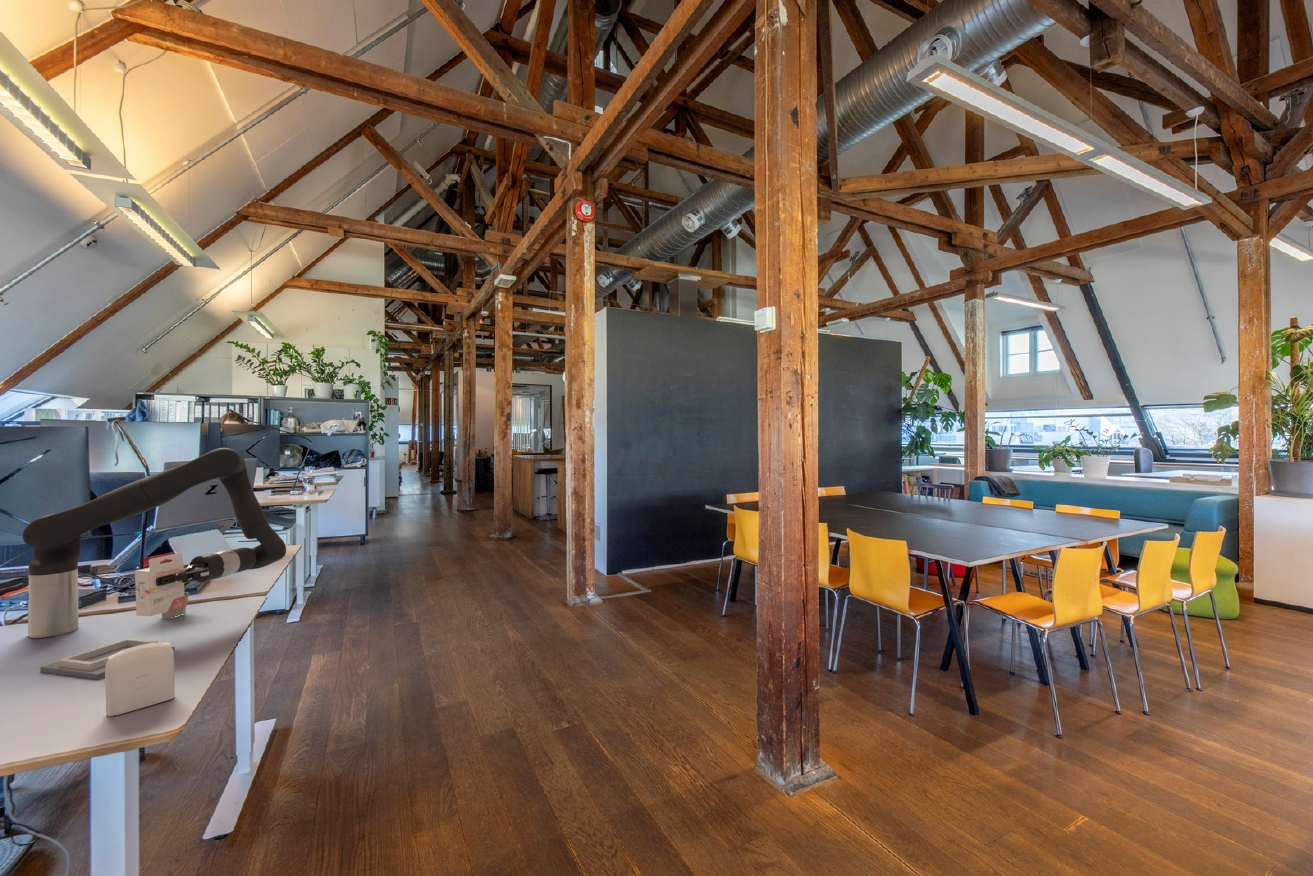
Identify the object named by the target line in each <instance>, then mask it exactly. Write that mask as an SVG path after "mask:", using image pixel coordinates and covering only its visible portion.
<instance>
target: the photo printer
mask: <svg viewBox="0 0 1313 876" xmlns="http://www.w3.org/2000/svg"><path fill="white" fill-rule="evenodd" d="M172 647H173V646H172V644H171V642H158V643H150V644H144V645H139V646H135V647H132V648H128V649H125V650H123V651H120V652H118V653H116V654H113V655H111V656H109V657H108V662H107V663H106V667H105V677H104V680H105V681H104V683H105V684H104V687H105V715H106V716H107V715H108V716H107V717H109V716H112V717H115V716H118V715H122V714H126V713H129V712H132V711H135V710H136V711H137V710H140V709H142V708H148V707H150V706H153V705H156V704H160V703H163V702H166V701H170V700H173V699H174V698H175V695H176V694H175V690H176V687H175V685H176V684H175V655H174V654H175V652H174V651H173V649H172ZM114 715H115V716H114Z"/></svg>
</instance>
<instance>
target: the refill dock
mask: <svg viewBox="0 0 1313 876" xmlns="http://www.w3.org/2000/svg"><path fill="white" fill-rule="evenodd" d="M150 643H159V641H157V640H148V639H141V638H140V639H139V638H131V637H130V638H129V637H128V638H125V639H122V640H119V641H115V642H112V643H110V644H106V645H103V646H99V647H96V648H94V649H90V650H89V649H88V650H86V651H84V652H79V653H77V654H74V655H73V654H72V655H71V656H67V657H64V658H61V659H58V661H54V662H52V663H49V664H45V665H42V666H40V673H47V674H52V673H55V674H54V675H60V674H61V676H69V677H74V678H75V677H76V678H83V679H90V680H91V679H92V680H100V679H103V678H105V667H106V663H107V662H108V657H109V656H111V655H113V654H116V653H118V652H120V651H123V650H125V649H128V648H132V647H135V646H139V645H144V644H150ZM171 647H172V649H173V651H174V650H175V651H176V648H175V646H171Z"/></svg>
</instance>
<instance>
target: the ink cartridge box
mask: <svg viewBox="0 0 1313 876" xmlns="http://www.w3.org/2000/svg"><path fill="white" fill-rule="evenodd" d="M165 560H168V562H164V561H165ZM169 560H171V561H169ZM161 562H163V563H161ZM184 564H185V563H184V559H183V553H182V552H177V553H174V554H168V555H164V556H163V555H162V556H159V557H155V558H150V559H148V567H147V568H142V569H136V570H135V571H134V572H135V573H134V577H135V578H134V580H135V607H136V608H135V611H136V612H135V613H136V616H141V617H142V616H143V617H154V616H157V615H161V613H164V612H167V611H170V610H173V609H177V608H180V607H183V606H185V599H184V592H185V591H184V589H185V588H184V584H185V583H182V582H178V583H170V584H166V585H162V586H157V585H156V578H158V577H162V576H166V575H170V574H174V573H177V572H180V571H181V570H182V569H184Z"/></svg>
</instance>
